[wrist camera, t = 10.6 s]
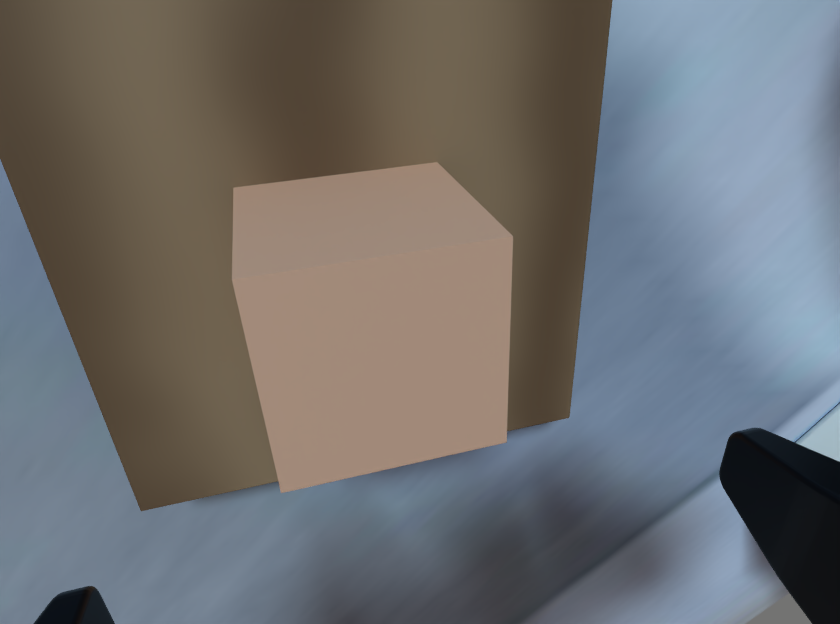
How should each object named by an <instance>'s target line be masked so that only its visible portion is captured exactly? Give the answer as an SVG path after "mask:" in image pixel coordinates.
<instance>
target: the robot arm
mask: <svg viewBox="0 0 840 624" xmlns="http://www.w3.org/2000/svg"><path fill="white" fill-rule="evenodd" d="M719 475H720V481H721V483H722V486H723V488H724V490H725V491H726V493H727V495H728V496H729V498H730V500H731V501H732V503H733V505H734V506H735V508H736V509H737V511H738V513H739V514H740V516H741V518H742V519H743V521H744V523H745V524H746V526H747V527H748V529H749V531H750V532H751V534H752V536H753V537H754V539H755V541H756V542H757V544H758V545H759V547H760V549H761V550H762V552H763V554H764V555H765V557H766V559H767V560H768V562H769V563H770V565H771V567H772V568H773V570H774V571H775V573H776V574H777V576H778V577H779V579H780V580H781V582H782V583H783V584H784V586H785V587H786V589H787V590H788V591H789V593H790V594H791V596H793V598H794V599H795V601H796V602H797V604H798V605H799V606H800V608H801V609H802V610H803V612H804V613H805V614H806V616H807V617H808V618H809V620H810V621H811V623H812V624H840V462H839V461H837V460H834V459H832V458H830V457H827V456H825V455H823V454H820V453H818V452H816V451H813V450H811V449H809V448H806V447H804V446H802V445H799V444H797V443H795V442H792V441H790V440H787V439H785V438H783V437H780V436H778V435H776V434H773V433H771V432H769V431H766V430H764V429H761V428H750V429H746V430H742V431H737V432H734V433H733V434H732V435H731V436H730V437H729V439H728V442H727V445H726V449H725V452H724V456H723V460H722V463H721V467H720V471H719ZM34 624H115V623H114V621H113V619H112V617H111V615H110V613H109V611H108V609H107V607H106V605H105V603H104V601H103V599H102V597H101V595H100V593H99V591H98V590H97V589H96V588H95V587H93V586H87V587H83V588H78V589H74V590H70V591H66V592H63V593H60V594H58V595H57V596H56V597H55V598H53V599H52V601H51V602H50V603H49V604H48V606H47V607H46V608H45V610H44V611H43V612H42V613H41V615H40V616H39V617H38V619H37V620H36V621H35V623H34Z"/></svg>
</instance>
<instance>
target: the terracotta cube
mask: <svg viewBox="0 0 840 624" xmlns="http://www.w3.org/2000/svg"><path fill="white" fill-rule="evenodd" d="M512 257H513V236H512V235H511V234H510V233H509V232H508V231H507V230H506V229H505V228H504V227H503V226H502V225H501V224H500V223H499V222H498V221H497V220H496V219H495V218H494V217H493V216H492V215H491V214H490V213H489V212H488V211H487V210H486V209H485V208H484V207H483V206H482V205H481V204H480V203H479V202H478V201H477V200H475V199H474V198H473V197H472V196H471V195H470V194H469V193H468V192H467V191H466V190H465V189H464V188H463V187H462V186H461V185H460V184H459V183H458V182H457V181H456V180H455V179H454V178H453V177H452V176H451V175H450V174H449V173H448V172H447V171H446V170H445V169H444V168H443V167H442V166H441V165H440V164H439V163H438V162H434V163H426V164H418V165H410V166H402V167H394V168H386V169H378V170H370V171H362V172H354V173H346V174H338V175H330V176H322V177H315V178H307V179H299V180H291V181H283V182H275V183H267V184H259V185H251V186H243V187H235V188H233V242H232V283H233V287H234V291H235V295H236V300H237V304H238V308H239V313H240V317H241V321H242V326H243V330H244V334H245V339H246V343H247V347H248V352H249V356H250V360H251V365H252V369H253V373H254V378H255V382H256V386H257V391H258V395H259V399H260V403H261V408H262V412H263V416H264V421H265V425H266V429H267V434H268V438H269V442H270V447H271V451H272V455H273V460H274V464H275V468H276V473H277V477H278V481H279V486H280V490H281V493H284V492H288V491H293V490H297V489H302V488H306V487H311V486H315V485H319V484H324V483H328V482H333V481H337V480H342V479H346V478H351V477H355V476H359V475H364V474H368V473H373V472H377V471H382V470H386V469H391V468H395V467H399V466H404V465H408V464H413V463H417V462H422V461H426V460H431V459H435V458H439V457H444V456H448V455H453V454H457V453H462V452H466V451H471V450H475V449H479V448H484V447H488V446H493V445H497V444H502V443H506V442H507V414H508V383H509V351H510V320H511V288H512Z"/></svg>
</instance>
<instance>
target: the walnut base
mask: <svg viewBox="0 0 840 624" xmlns="http://www.w3.org/2000/svg"><path fill="white" fill-rule="evenodd" d="M611 8H612V0H0V159H1V162H2V164H3V167H4V169H5V172H6V174H7V177H8V179H9V182H10V184H11V187H12V189H13V192H14V194H15V197H16V199H17V202H18V204H19V207H20V209H21V212H22V214H23V217H24V219H25V222H26V224H27V227H28V229H29V232H30V234H31V237H32V239H33V242H34V244H35V247H36V249H37V252H38V254H39V257H40V259H41V262H42V264H43V267H44V269H45V272H46V274H47V277H48V279H49V282H50V284H51V287H52V289H53V292H54V294H55V297H56V299H57V302H58V305H59V307H60V310H61V312H62V315H63V317H64V320H65V322H66V325H67V327H68V330H69V332H70V335H71V337H72V340H73V342H74V345H75V347H76V350H77V352H78V355H79V357H80V360H81V362H82V365H83V367H84V370H85V372H86V375H87V377H88V380H89V382H90V385H91V387H92V390H93V392H94V395H95V397H96V400H97V402H98V405H99V407H100V410H101V412H102V415H103V417H104V420H105V422H106V425H107V427H108V430H109V432H110V435H111V437H112V440H113V442H114V445H115V447H116V450H117V452H118V455H119V457H120V460H121V462H122V465H123V467H124V470H125V472H126V475H127V477H128V480H129V482H130V485H131V487H132V490H133V492H134V495H135V497H136V500H137V502H138V505H139V507H140V510H141V511H144V510H149V509H153V508H158V507H162V506H167V505H171V504H176V503H181V502H185V501H190V500H194V499H199V498H204V497H208V496H213V495H217V494H222V493H226V492H231V491H236V490H240V489H245V488H249V487H254V486H259V485H263V484H268V483H272V482H277V481H278V477H277V473H276V468H275V464H274V460H273V455H272V451H271V447H270V442H269V438H268V434H267V429H266V425H265V421H264V416H263V412H262V408H261V403H260V399H259V395H258V391H257V386H256V382H255V378H254V373H253V369H252V365H251V360H250V356H249V352H248V347H247V343H246V339H245V334H244V330H243V326H242V321H241V317H240V313H239V308H238V304H237V300H236V295H235V291H234V287H233V283H232V242H233V188H235V187H243V186H251V185H259V184H267V183H275V182H283V181H291V180H299V179H307V178H315V177H322V176H330V175H338V174H346V173H354V172H362V171H370V170H378V169H386V168H394V167H402V166H410V165H418V164H426V163H434V162H438V163H439V164H440V165H441V166H442V167H443V168H444V169H445V170H446V171H447V172H448V173H449V174H450V175H451V176H452V177H453V178H454V179H455V180H456V181H457V182H458V183H459V184H460V185H461V186H462V187H463V188H464V189H465V190H466V191H467V192H468V193H469V194H470V195H471V196H472V197H473V198H474V199H475V200H477V201H478V202H479V203H480V204H481V205H482V206H483V207H484V208H485V209H486V210H487V211H488V212H489V213H490V214H491V215H492V216H493V217H494V218H495V219H496V220H497V221H498V222H499V223H500V224H501V225H502V226H503V227H504V228H505V229H506V230H507V231H508V232H509V233H510V234H511V235H512V236H513V257H512V288H511V320H510V351H509V383H508V414H507V431H511V430H515V429H520V428H524V427H529V426H533V425H538V424H543V423H547V422H552V421H556V420H561V419H565V418H569V416H570V406H571V397H572V387H573V377H574V367H575V358H576V348H577V338H578V329H579V319H580V309H581V299H582V290H583V280H584V270H585V260H586V251H587V241H588V231H589V222H590V212H591V202H592V192H593V183H594V173H595V163H596V154H597V144H598V134H599V124H600V115H601V105H602V95H603V85H604V76H605V66H606V56H607V47H608V37H609V27H610V17H611Z"/></svg>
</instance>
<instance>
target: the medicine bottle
mask: <svg viewBox="0 0 840 624" xmlns="http://www.w3.org/2000/svg"><path fill="white" fill-rule="evenodd" d="M795 443H797V444H799V445H802V446H804V447H806V448H809V449H811V450H813V451H816V452H818V453H820V454H823V455H825V456H827V457H830V458H832V459H834V460H837V461H839V462H840V403H839V404H838V405H837V406H836V407H835V408H834V409H832V410H831V411H830V412H829V413H828V414H827V415H826V416H825V417H823V418H822V419H821V420H820V421H819V422H818V423H817V424H816V425H814V426H813V427H812V428H811V429H810V430H809V431H808V432H807V433H805V434H804V435H803V436H802V437H801V438H800V439H799V440H797V441H796V442H795Z"/></svg>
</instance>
